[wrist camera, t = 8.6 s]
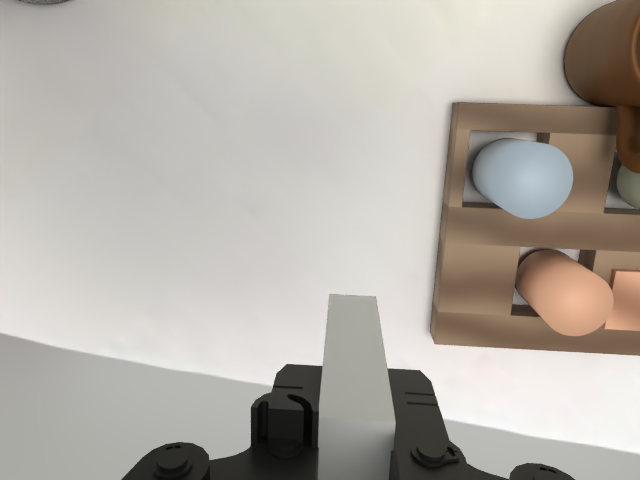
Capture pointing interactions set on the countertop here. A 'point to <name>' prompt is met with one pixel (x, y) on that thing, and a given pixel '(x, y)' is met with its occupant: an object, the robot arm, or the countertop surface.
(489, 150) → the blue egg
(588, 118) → the wooden compartment tray
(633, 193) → the pale green rounded cylinder
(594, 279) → the peach rounded cylinder
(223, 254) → the countertop surface
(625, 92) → the mug
